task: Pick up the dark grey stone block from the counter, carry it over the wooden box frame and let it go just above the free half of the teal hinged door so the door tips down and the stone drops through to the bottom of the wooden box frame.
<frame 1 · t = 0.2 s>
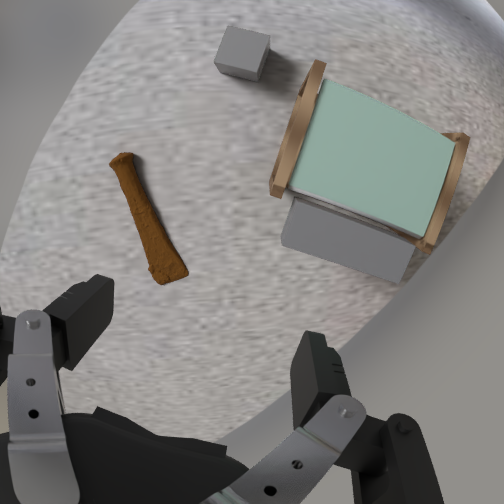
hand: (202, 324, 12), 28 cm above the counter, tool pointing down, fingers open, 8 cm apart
primitive tool: (152, 219, 41), on the counter
wooden box frame: (346, 156, 36), on the counter
trapdoor: (370, 185, 26), point 12 cm above the counter, hinge at 0.0°
stone: (245, 60, 33), on the counter
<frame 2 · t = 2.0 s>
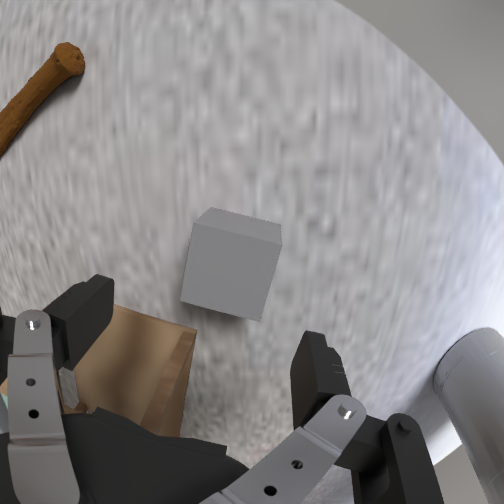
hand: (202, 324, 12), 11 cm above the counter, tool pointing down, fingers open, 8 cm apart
primitive tool: (17, 125, 21), on the counter
wooden box frame: (126, 376, 27), on the counter
trapdoor: (49, 451, 16), point 12 cm above the counter, hinge at 0.0°
stone: (237, 248, 22), on the counter
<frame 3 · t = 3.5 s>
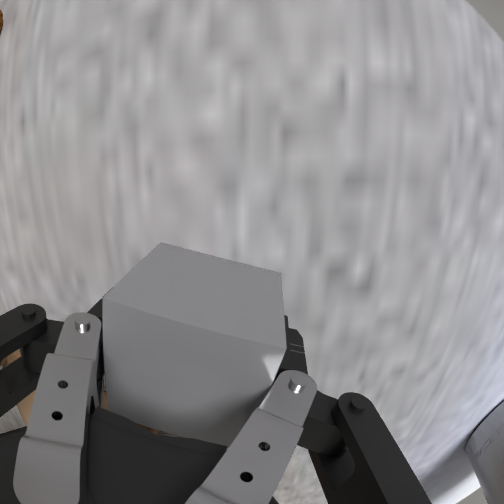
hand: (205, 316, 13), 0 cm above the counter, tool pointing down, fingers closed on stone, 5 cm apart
wooden box frame: (83, 442, 18), on the counter
stone: (208, 310, 13), on the counter, touching gripper
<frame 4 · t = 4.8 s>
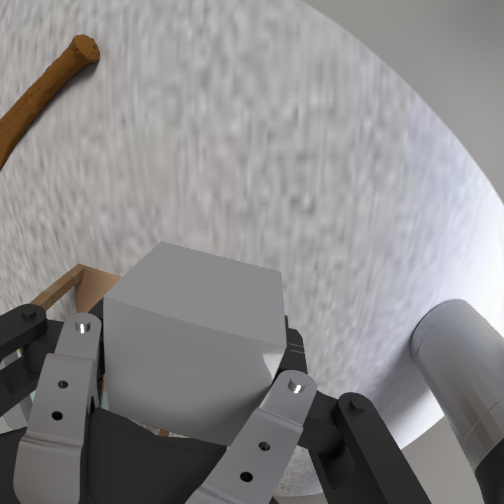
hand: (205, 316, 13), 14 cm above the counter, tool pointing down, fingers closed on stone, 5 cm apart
primitive tool: (33, 112, 23), on the counter
wooden box frame: (128, 345, 31), on the counter
trapdoor: (59, 414, 19), point 12 cm above the counter, hinge at 0.0°
stone: (208, 309, 13), point 13 cm above the counter, touching gripper
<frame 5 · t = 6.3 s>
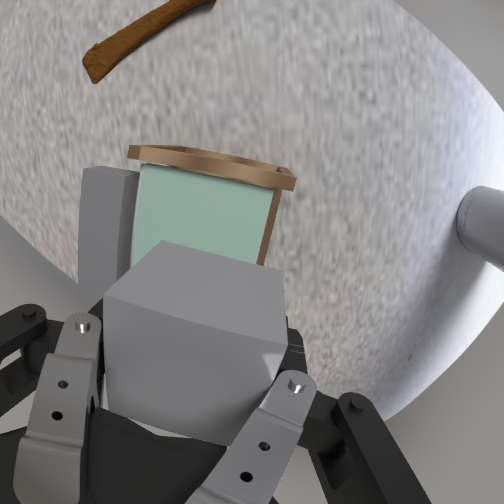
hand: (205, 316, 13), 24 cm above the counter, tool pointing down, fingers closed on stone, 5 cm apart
primitive tool: (147, 33, 29), on the counter
wooden box frame: (217, 225, 36), on the counter
trapdoor: (163, 254, 24), point 12 cm above the counter, hinge at 0.0°
stone: (209, 308, 13), point 23 cm above the counter, touching gripper
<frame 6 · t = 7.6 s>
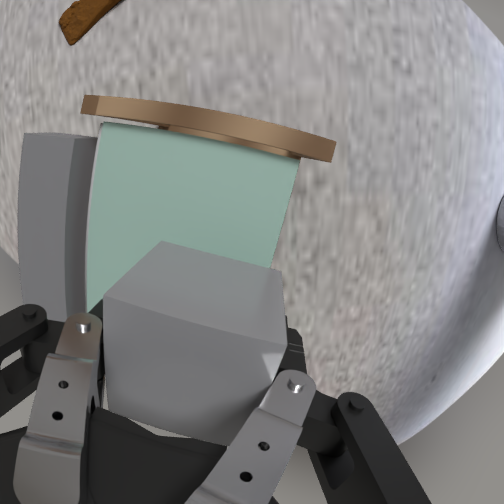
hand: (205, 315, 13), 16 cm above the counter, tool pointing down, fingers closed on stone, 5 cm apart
wooden box frame: (210, 218, 27), on the counter
trapdoor: (129, 256, 16), point 12 cm above the counter, hinge at 0.0°
stone: (208, 308, 13), point 15 cm above the counter, touching gripper
when the fingers open (16 cm above the counter, at t = 7.8 s): stone drops 8 cm and tips over, resting on trapdoor.
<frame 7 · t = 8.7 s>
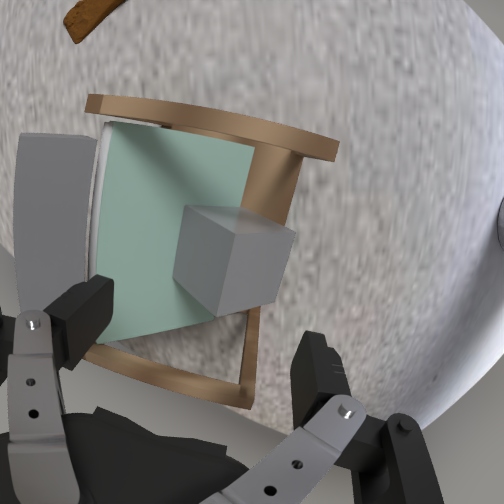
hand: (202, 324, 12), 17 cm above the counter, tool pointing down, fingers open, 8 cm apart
wooden box frame: (213, 218, 27), on the counter
trapdoor: (133, 242, 18), point 10 cm above the counter, hinge at -45.6°, touching stone
stone: (208, 240, 21), point 7 cm above the counter, tilted 46°, touching trapdoor
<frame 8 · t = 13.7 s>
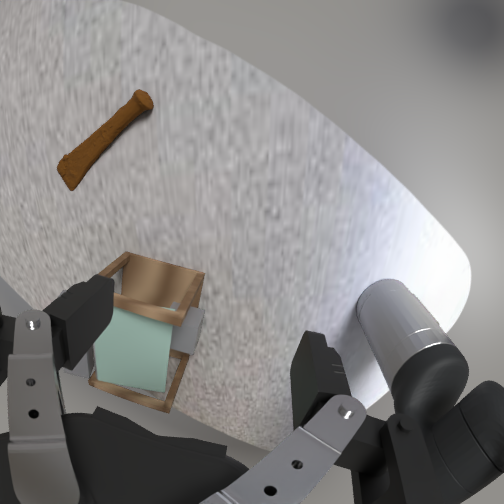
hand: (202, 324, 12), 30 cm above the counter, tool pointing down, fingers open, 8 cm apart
primitive tool: (103, 143, 39), on the counter
wooden box frame: (157, 309, 47), on the counter
trapdoor: (113, 345, 36), point 11 cm above the counter, hinge at -12.4°
stone: (166, 323, 44), point 3 cm above the counter, tilted 90°, touching wooden box frame
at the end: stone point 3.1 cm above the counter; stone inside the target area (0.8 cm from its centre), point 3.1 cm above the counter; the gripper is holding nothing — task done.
